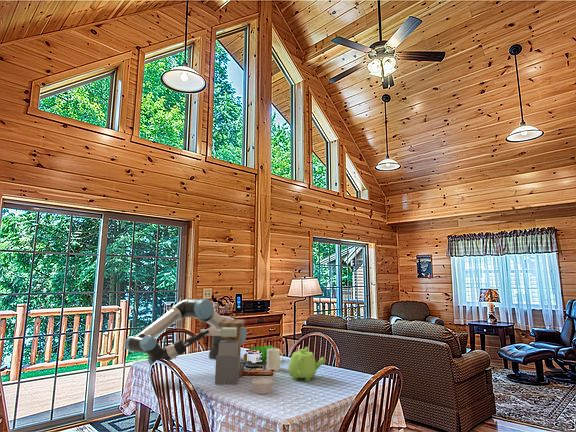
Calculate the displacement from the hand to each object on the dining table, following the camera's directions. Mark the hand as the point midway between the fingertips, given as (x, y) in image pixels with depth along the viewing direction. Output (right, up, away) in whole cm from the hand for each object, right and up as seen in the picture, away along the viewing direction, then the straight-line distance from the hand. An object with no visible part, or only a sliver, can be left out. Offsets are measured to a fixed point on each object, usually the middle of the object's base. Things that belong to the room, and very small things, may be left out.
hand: (214, 327), depth 211 cm
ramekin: (+28, -26, -21) cm, 44 cm away
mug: (+33, -34, +25) cm, 53 cm away
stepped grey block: (+8, -28, -4) cm, 30 cm away
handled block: (+2, -4, -1) cm, 5 cm away
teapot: (+53, -31, +7) cm, 62 cm away
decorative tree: (+25, -37, +44) cm, 62 cm away
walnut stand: (+7, -31, +14) cm, 35 cm away
